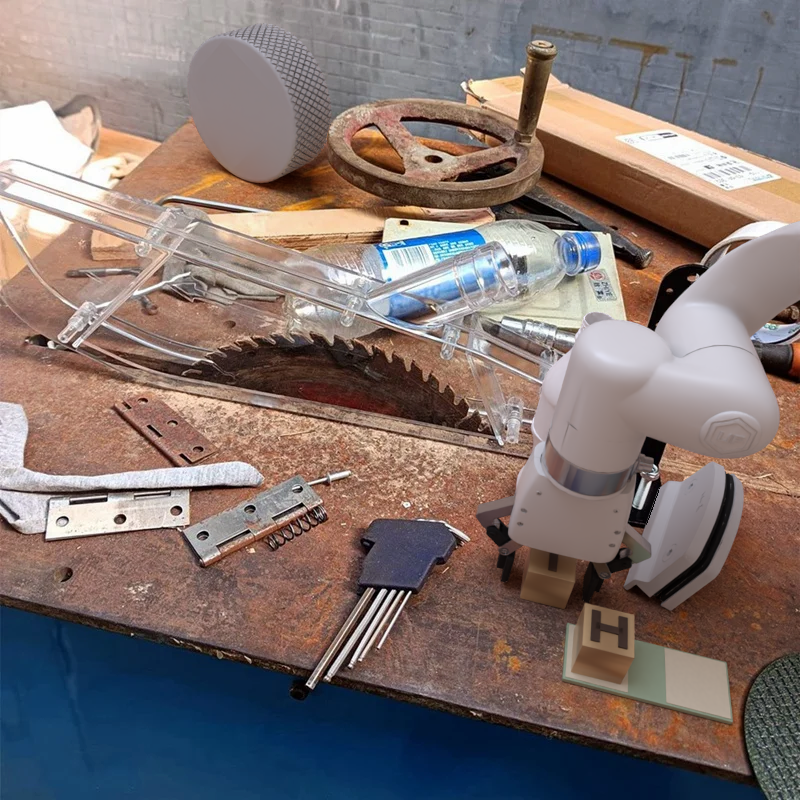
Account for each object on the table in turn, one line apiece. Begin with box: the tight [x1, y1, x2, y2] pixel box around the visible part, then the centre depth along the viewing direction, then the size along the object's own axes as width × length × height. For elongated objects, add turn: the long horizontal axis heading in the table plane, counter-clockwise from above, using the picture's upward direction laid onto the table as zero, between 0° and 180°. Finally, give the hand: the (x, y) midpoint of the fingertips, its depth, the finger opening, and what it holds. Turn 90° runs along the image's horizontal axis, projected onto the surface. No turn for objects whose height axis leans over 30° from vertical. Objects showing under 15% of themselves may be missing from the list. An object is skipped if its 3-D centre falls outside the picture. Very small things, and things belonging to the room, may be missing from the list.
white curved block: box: [623, 461, 745, 611], centre depth 79 cm, size 17×5×10 cm, turn 152°
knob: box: [186, 22, 333, 184], centre depth 135 cm, size 25×10×25 cm, turn 58°
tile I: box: [519, 547, 578, 610], centre depth 75 cm, size 4×4×5 cm
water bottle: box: [515, 311, 615, 489], centre depth 77 cm, size 7×7×25 cm
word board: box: [561, 622, 734, 725], centre depth 70 cm, size 15×6×1 cm, turn 77°
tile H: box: [571, 602, 635, 684], centre depth 69 cm, size 4×4×5 cm
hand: (545, 580), depth 76 cm, fingers open, 7 cm apart
